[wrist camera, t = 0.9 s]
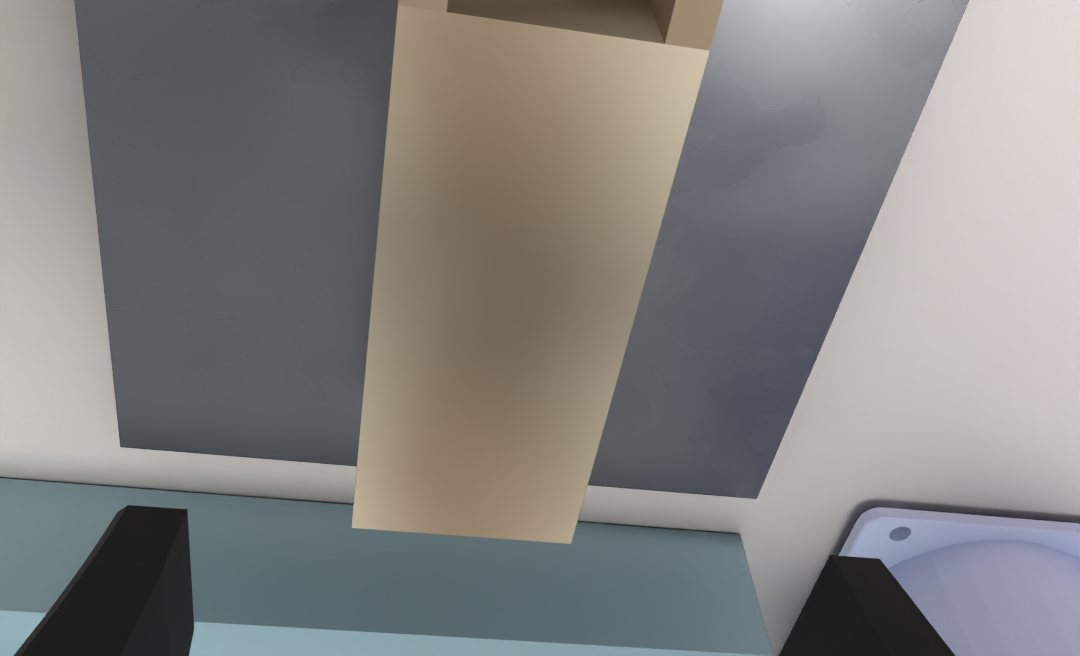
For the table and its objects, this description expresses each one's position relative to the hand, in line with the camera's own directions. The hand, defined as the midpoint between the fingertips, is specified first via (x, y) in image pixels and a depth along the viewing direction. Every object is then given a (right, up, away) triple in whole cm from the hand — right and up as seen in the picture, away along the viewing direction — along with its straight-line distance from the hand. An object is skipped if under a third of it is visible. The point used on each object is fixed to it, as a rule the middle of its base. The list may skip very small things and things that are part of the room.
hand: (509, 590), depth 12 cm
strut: (0, +6, +6) cm, 9 cm away
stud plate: (0, +7, +7) cm, 10 cm away
